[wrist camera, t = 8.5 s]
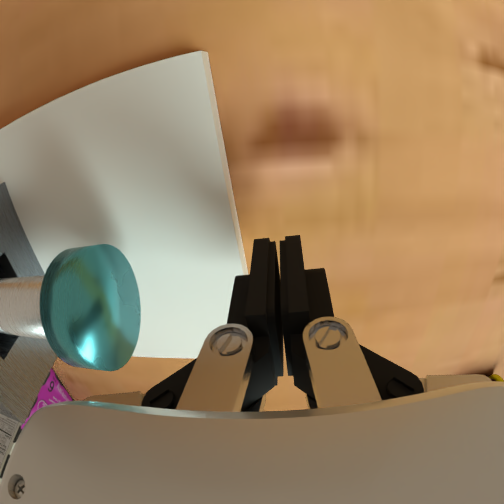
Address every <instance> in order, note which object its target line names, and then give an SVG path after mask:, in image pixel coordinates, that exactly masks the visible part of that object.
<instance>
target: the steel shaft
mask: <svg viewBox="0 0 504 504" xmlns="http://www.w3.org/2000/svg"><path fill="white" fill-rule="evenodd" d="M140 323H141V305H140V295H139V289H138V285H137V281H136V278H135V275H134V272H133V270H132V267H131V265H130V263H129V262H128V260H127V258H126V257H125V256H124V254H123V253H122V252H121V251H120V250H119V249H117V248H116V247H114V246H112V245H109V244H99V245H91V246H84V247H76V248H70V249H66V250H64V251H62V252H61V253H59V254H58V255H57V256H56V257H55V258H54V259H53V261H52V262H51V263H50V265H49V267H48V268H47V270H46V273H45V275H44V276H30V277H16V278H1V279H0V333H4V334H11V335H18V336H25V337H33V338H41V339H47V341H48V343H49V345H50V346H51V348H52V349H53V351H54V352H55V353H56V355H57V356H58V357H59V358H60V359H61V360H63V361H64V362H65V363H67V364H69V365H71V366H74V367H81V368H88V369H96V370H104V371H115V370H118V369H120V368H121V367H123V366H124V365H125V364H126V363H127V362H128V361H129V359H130V358H131V356H132V354H133V352H134V350H135V347H136V345H137V341H138V337H139V332H140Z"/></svg>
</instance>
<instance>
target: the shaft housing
mask: <svg viewBox="0 0 504 504" xmlns="http://www.w3.org/2000/svg"><path fill="white" fill-rule="evenodd" d="M44 275H45V273H44V271H43V269H42V267H41V265H40V263H39V261H38V259H37V257H36V255H35V253H34V251H33V249H32V247H31V245H30V243H29V241H28V238H27V236H26V234H25V232H24V229H23V227H22V225H21V222H20V220H19V218H18V215H17V213H16V210H15V208H14V205H13V203H12V200H11V197H10V195H9V192H8V189H7V186H6V184H5V182H3V183H1V184H0V279H1V278H16V277H30V276H44ZM57 357H58V356H57V355H56V353H55V352H54V351H53V349H52V348H51V346H50V345H49V343H48V341H47V339H41V338H33V337H25V336H18V335H11V334H4V333H0V414H2V415H4V416H7V417H9V418H11V419H13V420H15V421H18V422H20V423H22V424H24V423H25V421H26V419H27V417H28V415H29V412H30V410H31V408H32V406H33V404H34V402H35V400H36V398H37V395H38V393H39V391H40V389H41V387H42V385H43V383H44V381H45V379H46V378H47V376H48V374H49V372H50V370H51V368H52V366H53V364H54V362H55V360H56V359H57Z"/></svg>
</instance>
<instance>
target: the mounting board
mask: <svg viewBox="0 0 504 504" xmlns="http://www.w3.org/2000/svg"><path fill="white" fill-rule="evenodd" d="M3 182H5V184H6V186H7V189H8V192H9V195H10V197H11V200H12V203H13V205H14V208H15V210H16V213H17V215H18V218H19V220H20V222H21V225H22V227H23V229H24V232H25V234H26V236H27V238H28V241H29V243H30V245H31V247H32V249H33V251H34V253H35V255H36V257H37V259H38V261H39V263H40V265H41V267H42V269H43V271H44V273H46V270H47V268H48V267H49V265H50V263H51V262H52V261H53V259H54V258H55V257H56V256H57V255H58V254H59V253H61V252H62V251H64V250H66V249H70V248H76V247H84V246H91V245H99V244H109V245H112V246H114V247H116V248H117V249H119V250H120V251H121V252H122V253H123V254H124V256H125V257H126V258H127V260H128V262H129V263H130V265H131V267H132V270H133V272H134V275H135V278H136V281H137V285H138V289H139V295H140V305H141V323H140V332H139V337H138V341H137V345H136V347H135V350H134V352H133V354H132V356H137V357H158V358H197V357H198V355H199V353H200V350H201V348H202V346H203V343H204V341H205V339H206V337H207V335H208V334H209V333H210V332H211V331H212V330H213V329H215V328H217V327H219V326H221V325H225V324H227V319H228V313H229V308H230V302H231V296H232V291H233V285H234V280H235V276H238V275H248V270H247V265H246V259H245V254H244V249H243V243H242V238H241V233H240V227H239V222H238V217H237V211H236V206H235V201H234V195H233V190H232V184H231V179H230V174H229V168H228V163H227V157H226V152H225V146H224V141H223V135H222V130H221V124H220V119H219V113H218V108H217V102H216V96H215V91H214V85H213V80H212V74H211V68H210V63H209V57H208V52H205V51H196V52H192V53H188V54H183V55H179V56H175V57H171V58H168V59H164V60H160V61H157V62H153V63H150V64H147V65H143V66H140V67H137V68H134V69H131V70H128V71H125V72H122V73H119V74H116V75H113V76H110V77H108V78H105V79H102V80H100V81H97V82H95V83H92V84H90V85H87V86H85V87H82V88H80V89H78V90H75V91H73V92H71V93H69V94H66V95H64V96H62V97H60V98H58V99H55V100H53V101H51V102H49V103H47V104H45V105H43V106H41V107H39V108H37V109H35V110H33V111H32V112H30V113H28V114H26V115H24V116H22V117H20V118H19V119H17V120H15V121H13V122H12V123H10V124H8V125H7V126H5V127H3V128H2V129H0V184H1V183H3Z"/></svg>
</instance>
